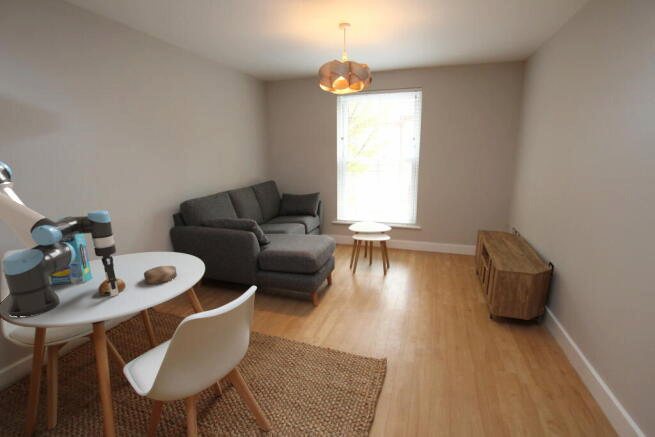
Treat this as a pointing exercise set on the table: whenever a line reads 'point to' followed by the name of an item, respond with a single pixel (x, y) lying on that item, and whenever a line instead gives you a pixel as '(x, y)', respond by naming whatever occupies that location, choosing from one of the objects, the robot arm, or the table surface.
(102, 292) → the bread roll
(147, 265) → the table surface
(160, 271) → the walnut stand
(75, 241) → the game box
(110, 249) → the robot arm
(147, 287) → the table surface
